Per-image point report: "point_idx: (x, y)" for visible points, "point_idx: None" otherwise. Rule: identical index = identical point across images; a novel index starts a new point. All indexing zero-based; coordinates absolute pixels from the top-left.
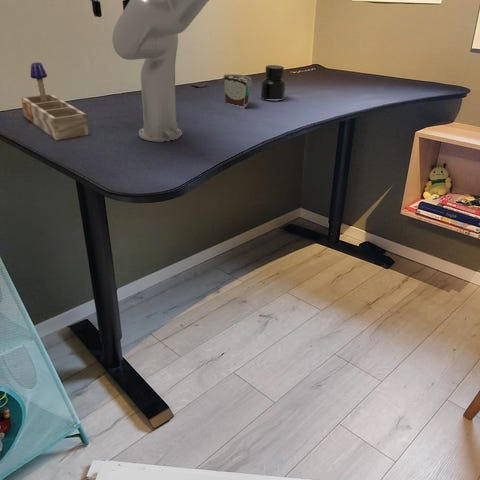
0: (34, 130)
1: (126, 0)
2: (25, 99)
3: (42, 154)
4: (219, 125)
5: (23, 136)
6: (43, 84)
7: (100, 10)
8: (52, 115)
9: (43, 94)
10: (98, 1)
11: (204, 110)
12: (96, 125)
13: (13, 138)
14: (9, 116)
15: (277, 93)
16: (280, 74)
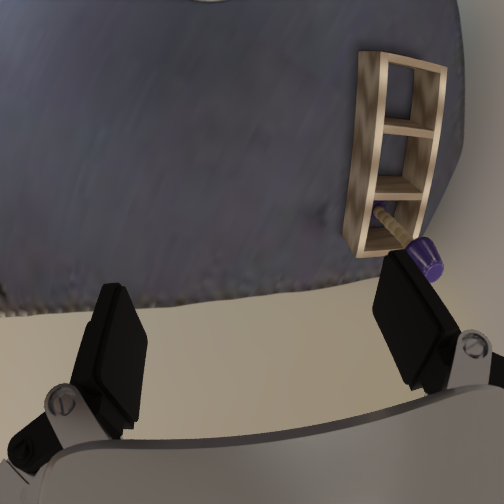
0: None
1: (107, 402)
2: (416, 236)
3: (458, 20)
4: None
5: (449, 122)
6: (404, 238)
7: (414, 275)
8: (417, 126)
9: (398, 224)
10: (456, 327)
11: (17, 111)
12: (314, 98)
13: (462, 123)
14: None
15: None
16: None
